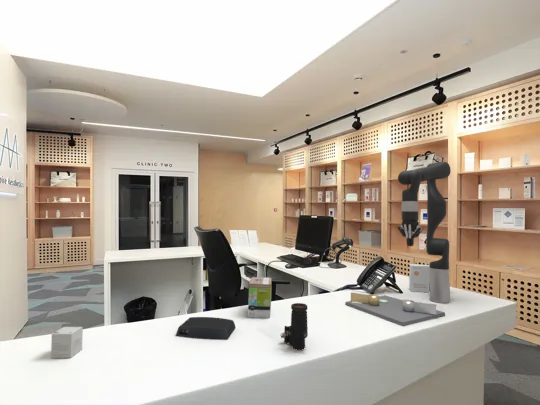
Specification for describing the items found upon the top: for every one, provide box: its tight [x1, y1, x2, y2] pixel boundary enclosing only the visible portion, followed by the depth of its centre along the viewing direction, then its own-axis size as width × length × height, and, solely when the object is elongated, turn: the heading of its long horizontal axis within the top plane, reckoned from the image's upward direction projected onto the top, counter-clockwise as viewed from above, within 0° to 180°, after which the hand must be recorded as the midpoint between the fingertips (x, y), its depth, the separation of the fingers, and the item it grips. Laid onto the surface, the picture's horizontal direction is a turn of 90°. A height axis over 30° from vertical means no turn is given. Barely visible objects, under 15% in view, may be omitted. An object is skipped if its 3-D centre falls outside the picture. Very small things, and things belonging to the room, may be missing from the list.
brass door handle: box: [350, 292, 380, 306], centre depth 149 cm, size 14×5×4 cm, turn 61°
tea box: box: [247, 276, 273, 319], centre depth 137 cm, size 15×10×15 cm
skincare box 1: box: [50, 326, 84, 359], centre depth 94 cm, size 6×6×7 cm
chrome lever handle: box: [402, 299, 437, 315], centre depth 136 cm, size 14×5×4 cm, turn 60°
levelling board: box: [344, 294, 446, 327], centre depth 144 cm, size 29×33×2 cm
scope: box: [280, 302, 309, 351], centre depth 102 cm, size 8×14×10 cm
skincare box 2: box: [408, 263, 430, 293], centre depth 181 cm, size 21×6×16 cm, turn 81°
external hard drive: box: [175, 316, 236, 341], centre depth 113 cm, size 13×19×4 cm
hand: (410, 246), depth 148 cm, fingers closed
